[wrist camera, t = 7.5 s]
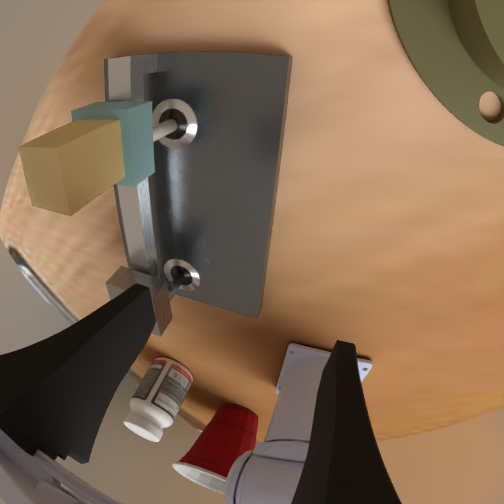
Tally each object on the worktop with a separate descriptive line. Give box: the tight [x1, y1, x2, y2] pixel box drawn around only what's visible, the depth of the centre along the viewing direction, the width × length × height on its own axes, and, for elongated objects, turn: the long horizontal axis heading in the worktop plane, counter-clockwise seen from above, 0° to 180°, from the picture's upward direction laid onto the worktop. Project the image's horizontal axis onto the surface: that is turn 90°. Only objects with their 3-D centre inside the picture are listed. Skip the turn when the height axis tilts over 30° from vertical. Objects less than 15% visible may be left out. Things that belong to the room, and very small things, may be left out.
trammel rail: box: [106, 53, 185, 337], centre depth 18 cm, size 19×4×5 cm, turn 176°
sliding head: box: [19, 101, 177, 216], centre depth 14 cm, size 4×4×9 cm
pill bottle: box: [124, 357, 193, 442], centre depth 33 cm, size 6×6×10 cm
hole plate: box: [104, 52, 292, 318], centre depth 20 cm, size 19×12×1 cm, turn 176°
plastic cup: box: [172, 404, 258, 494], centre depth 35 cm, size 11×11×12 cm
